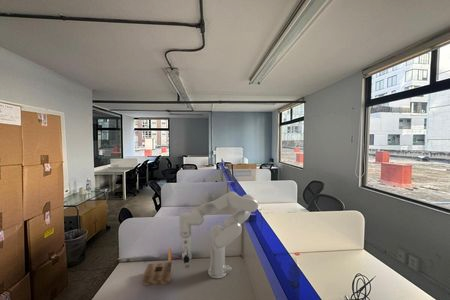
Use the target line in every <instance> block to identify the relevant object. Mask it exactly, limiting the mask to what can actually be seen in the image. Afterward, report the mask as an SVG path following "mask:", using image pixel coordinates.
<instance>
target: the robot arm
mask: <svg viewBox="0 0 450 300" xmlns="http://www.w3.org/2000/svg"><path fill="white" fill-rule="evenodd" d="M229 208H232V209H235V210H236V211H235V212H233V213H232V214H231V215H229V216H228V217H227V218H226V219H225V220H224V221H223V224H224V225H223V226H224V228H223V226H222V225H219V224H217V225H214V226H212V227H211V229H210V232H209V237H210V266H209V268H208V270H207V274H208V276H209V277H211V278H212V279H223V278H224V277H225V276H226V275H228V271H232V270H233V268H232V266H230V265H229V264H227V265H226V252H225V251H226V247H227V246H228V245H229V244H230V243H232V242H234V241H235V240H236V239H237V238H238V237H240V235H241V233H242V229H243V227H242V224H243V223H245V222H246V221H247V220H248V219H249V217H250V215H251V214H252V213H254V212H256V211H257V210H258V208H259V203H258V201H257V200H256V199H255V198H254V197H253V196H252V195H250V194H247V193H246V194H244V195H242V196H241V195H239V194H238V193H237V192H236V191H229V192H227V193H225V194H223V195H222V196H219V197H218V198H216V199H215V200H213V201H208V202H205V203H203V204H200V205H199V206H197V207H195V208H194V209H193V210H192V211H191V212H186V211H185V212H182V213H180V214H179V217H178V218H179V220H178V222H179V223H178V224H179V236H180V238H181V247H182V252H183V253H184V261H183V263H189V255H187V253H188V252H191V253H192V240H191V239H192V238H191V236H192V235H193V234H192V233H193V230H192V227H193V226H194V227H198V226H201V225H202V224H203V223H204V222H205V220H204V219H205V218H204V216H206V215H208V214H210V213H211V214H212V213H216V214H217V213H222V212H224V211H225V210H228V209H229ZM187 250H188V251H187Z"/></svg>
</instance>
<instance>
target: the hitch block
mask: <svg viewBox="0 0 450 300" xmlns="http://www.w3.org/2000/svg"><path fill="white" fill-rule="evenodd" d="M173 271H174V270H173V262H172V257H171V263H168V262H163V263H162V262H161V263H159V262H158V263H148V264H147V265H146V268H145V270H144V273H143V275H142V285H143V287H144V286H157V285H170V284H171V280H172V275H173Z"/></svg>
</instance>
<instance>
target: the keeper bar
mask: <svg viewBox="0 0 450 300" xmlns="http://www.w3.org/2000/svg"><path fill="white" fill-rule="evenodd" d="M167 253H168V254H167V256H168V257H167V259H168V260H167V261H168V262H167V263H171V258H172V247H168V251H167Z"/></svg>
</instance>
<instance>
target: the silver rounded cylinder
mask: <svg viewBox="0 0 450 300" xmlns="http://www.w3.org/2000/svg"><path fill="white" fill-rule="evenodd" d="M187 251H188V250H187ZM187 255H189V263H184V253H183V251H182V253H181V260H182V261H183V263H184V264H183V265H184V266H183V267H184V269H189V268H190V267H191V260H192V257H193V256H192V251H191V252H188V253H187Z"/></svg>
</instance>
